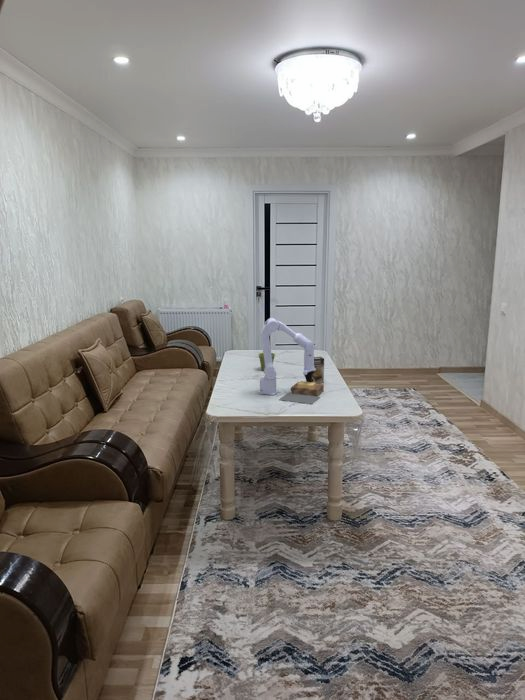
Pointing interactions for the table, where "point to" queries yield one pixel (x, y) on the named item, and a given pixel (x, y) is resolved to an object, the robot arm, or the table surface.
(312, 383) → the tile
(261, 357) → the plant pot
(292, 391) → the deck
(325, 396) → the table surface
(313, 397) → the mat
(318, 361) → the coffee box
